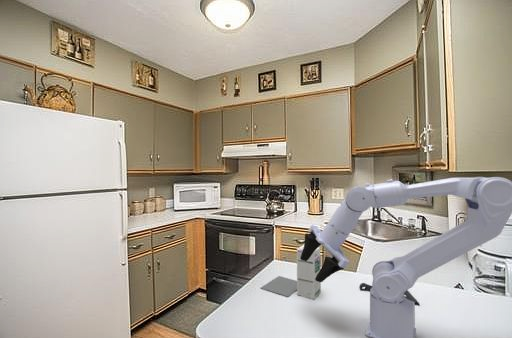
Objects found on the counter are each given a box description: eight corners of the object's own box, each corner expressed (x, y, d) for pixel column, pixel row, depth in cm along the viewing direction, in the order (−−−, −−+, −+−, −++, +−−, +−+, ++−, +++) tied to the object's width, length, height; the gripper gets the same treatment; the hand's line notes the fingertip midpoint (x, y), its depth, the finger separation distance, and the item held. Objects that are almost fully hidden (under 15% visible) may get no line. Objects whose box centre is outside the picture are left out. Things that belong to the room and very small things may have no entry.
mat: (304, 283, 88) (304, 282, 88) (288, 297, 78) (288, 296, 78) (278, 276, 94) (278, 275, 94) (260, 288, 84) (260, 287, 84)
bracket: (355, 282, 91) (355, 274, 91) (401, 286, 89) (401, 278, 89) (364, 302, 77) (364, 293, 77) (419, 308, 74) (419, 298, 74)
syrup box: (314, 300, 77) (315, 250, 77) (296, 294, 80) (296, 247, 80) (320, 292, 81) (321, 246, 82) (303, 288, 85) (303, 243, 85)
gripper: (312, 208, 70) (286, 248, 73) (347, 242, 58) (314, 289, 60) (329, 215, 73) (304, 253, 76) (366, 249, 61) (334, 292, 64)
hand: (310, 269), depth 68 cm, fingers open, 7 cm apart
